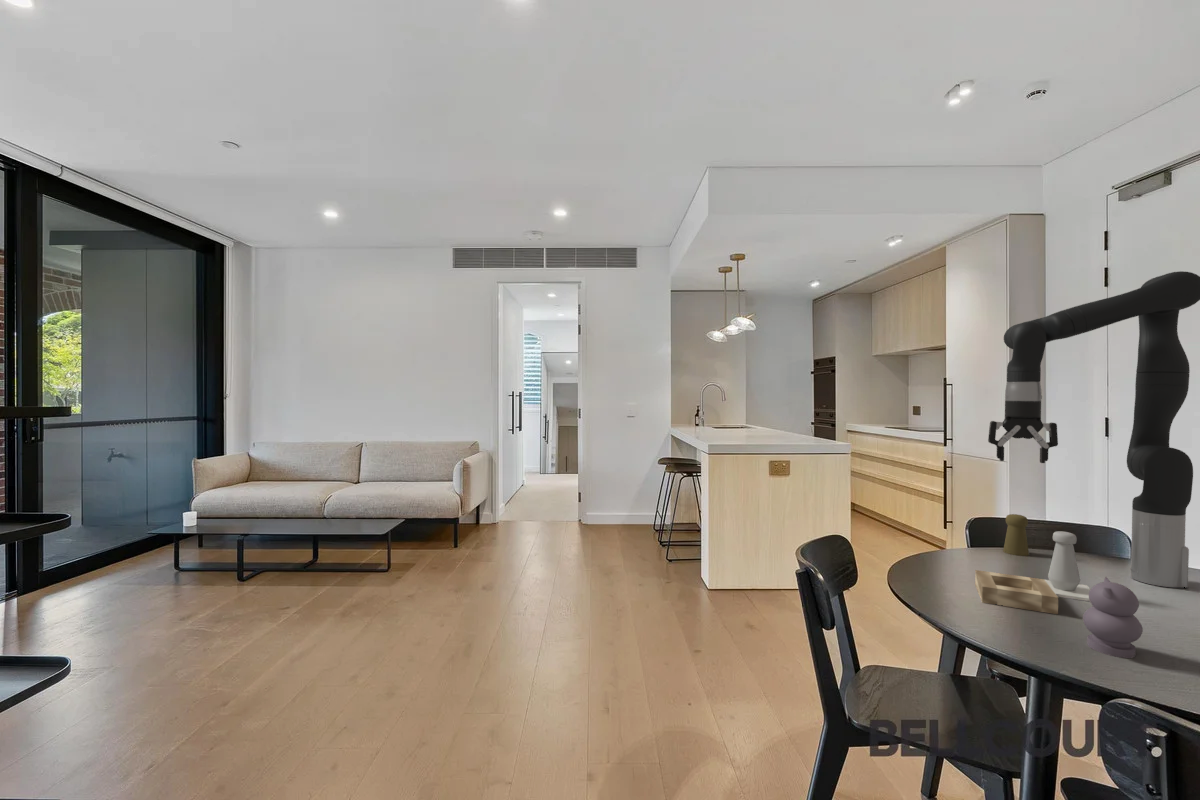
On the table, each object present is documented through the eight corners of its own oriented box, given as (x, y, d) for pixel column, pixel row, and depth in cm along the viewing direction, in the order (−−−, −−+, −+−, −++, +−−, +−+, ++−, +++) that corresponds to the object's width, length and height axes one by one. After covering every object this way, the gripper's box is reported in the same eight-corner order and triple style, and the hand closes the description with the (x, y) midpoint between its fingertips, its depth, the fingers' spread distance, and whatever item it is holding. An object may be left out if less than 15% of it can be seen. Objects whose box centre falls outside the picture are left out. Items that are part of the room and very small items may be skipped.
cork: (1010, 555, 157) (1011, 516, 157) (998, 549, 163) (999, 512, 163) (1034, 556, 156) (1034, 517, 156) (1021, 550, 162) (1022, 513, 162)
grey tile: (1086, 587, 131) (1086, 585, 131) (1101, 603, 121) (1101, 600, 121) (1028, 579, 136) (1028, 577, 136) (1038, 593, 127) (1038, 591, 127)
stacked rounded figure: (1142, 665, 93) (1144, 594, 93) (1081, 650, 99) (1082, 583, 98) (1141, 648, 99) (1143, 582, 99) (1083, 635, 105) (1084, 572, 105)
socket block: (1043, 594, 126) (1044, 579, 126) (1057, 614, 115) (1058, 597, 115) (975, 584, 132) (975, 570, 132) (982, 602, 121) (982, 586, 121)
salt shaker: (1067, 584, 132) (1068, 529, 131) (1086, 593, 126) (1088, 536, 126) (1041, 583, 132) (1042, 529, 132) (1059, 592, 126) (1060, 535, 126)
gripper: (1054, 399, 144) (1052, 462, 144) (987, 399, 151) (986, 458, 151) (1061, 400, 137) (1060, 465, 138) (991, 399, 144) (990, 461, 144)
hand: (1021, 461), depth 144 cm, fingers open, 8 cm apart
